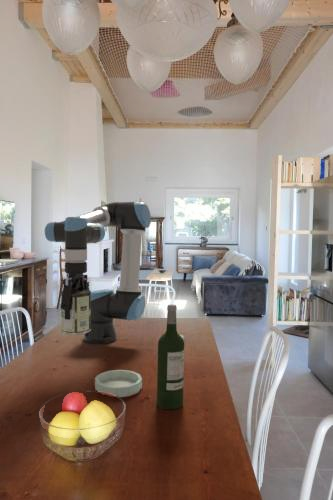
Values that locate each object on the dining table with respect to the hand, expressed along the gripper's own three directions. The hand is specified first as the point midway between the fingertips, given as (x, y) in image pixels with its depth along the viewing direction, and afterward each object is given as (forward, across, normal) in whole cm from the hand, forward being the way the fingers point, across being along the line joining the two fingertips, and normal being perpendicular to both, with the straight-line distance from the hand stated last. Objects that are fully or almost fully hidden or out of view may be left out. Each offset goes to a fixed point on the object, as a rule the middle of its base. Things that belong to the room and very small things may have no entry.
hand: (75, 324), depth 135 cm
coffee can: (+3, 0, 0) cm, 3 cm away
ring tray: (+18, +5, +18) cm, 26 cm away
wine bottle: (+19, +12, +37) cm, 43 cm away
